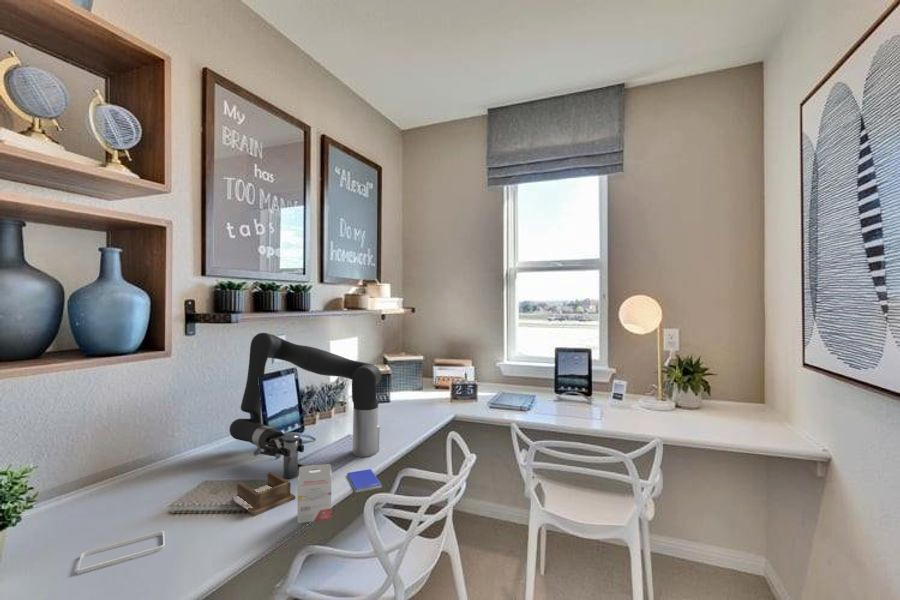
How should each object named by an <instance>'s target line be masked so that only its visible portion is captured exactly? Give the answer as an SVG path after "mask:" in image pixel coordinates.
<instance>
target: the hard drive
mask: <svg viewBox="0 0 900 600" xmlns="http://www.w3.org/2000/svg"><path fill="white" fill-rule="evenodd" d="M346 477H347V478H348V481H349V483H350V484H351V487H352V488H353V489H354V492H355V493H359V492H360V493H361V492H366V491H371V490H376V489H377V490H378V489H381V488H383V484H382V483H381V481H380V480H379V479H378V477H377V476H376V474H375V473H374V472H373V470H372V469H371V468H370V469H369V468H368V469H364V470H357V471H351V472H347V474H346Z"/></svg>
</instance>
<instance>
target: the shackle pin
mask: <svg viewBox="0 0 900 600" xmlns="http://www.w3.org/2000/svg"><path fill="white" fill-rule="evenodd" d="M300 436H301V434H300V433H298V432H289V433H284V435H283V441H284V448H286V449H289V451H290V456H289V457H286V456H283V461H282V463H283V465H282V466H283V467H282V468H283V471H282V478H283V479H292V478H295V477H298V476H299V466H298V465H299V451H298V439H299V438H301V437H300Z"/></svg>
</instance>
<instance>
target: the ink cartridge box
mask: <svg viewBox="0 0 900 600" xmlns="http://www.w3.org/2000/svg"><path fill="white" fill-rule="evenodd" d="M297 477H298V478H297V521H296V522H297V524H304V523H311V522H319V521H326V520H331V519H332V479H333V478H332V465H331V463H327V464H314V465H306V466H304V465H303V466H298V476H297Z"/></svg>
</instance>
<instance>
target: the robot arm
mask: <svg viewBox="0 0 900 600" xmlns="http://www.w3.org/2000/svg"><path fill="white" fill-rule="evenodd" d="M268 359H275V360H280V361H285V362H289V363H291V364H292V365H295V366H296V367H298V368H300V369H302V370H304V371H307V372H310V373H313V374H316V375H320V376H326V377H327V376H329V377H338V378H339V377H340V378H346V379H348V380H349V379H350V380H351V400H352V403H353V412H352V420H353V421H352V452H353V453H352V454H353V456H356V457H360V458H362V457H370V456H371V457H372V456H374V455H375V454H377V453H378V451H380V429H381V427H380V425H378V424H379V399H378V398H377V385H378V384H379V383H380V381H381V380H382V372H381V370H380V368H379V367H378V366H377V365H375V364H373V363H369V362H363V361H357V360H353V359H349V358H346V357H343V356H342V355H339V354H336V353H332V352H329V351H327V350H323V349H320V348H316V347H313V346H307V345H302V344H296V343H293V342H290V341H287V340H285V339H283V338H282V337H279V336H277V335H274V334H270V333H268V332H258V333H257V334H255V335H254V336H253V338H252V339H251V341H250V347H249V359H248V367H247V368H248V370H247V378H246V383H245V387H244V392H243V396H242V401H241V405H240V410H241V411H242V412H245V413H248V414H249V417H250V418H237V419H234V420H233V421H232V422H231V424H230V426H229V435H230V436H231V437H232V438H233V439H235V440H238V441H242V442H247V443H251V444H253V445H254V446H256V447H257V448H259V454H260V455H265V456H270V457H275V456H276V455H277V456H282V457H284V456H286V457H289V456H290V451H289V449H286V448H284V441H283V435H285V433H284V432H283V431H282V430H279V429H276V428H275V427H272V426H267V425H264V424H263V423H262V406H261V400H260V391H259V385H258V377H260V376H263V375H264V376H265V374H266V373H265V370H266V364H267V361H268ZM304 450H305V445H304V444H303V439H302V437H300V438H299V439H298V453H304V452H305V451H304Z"/></svg>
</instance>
